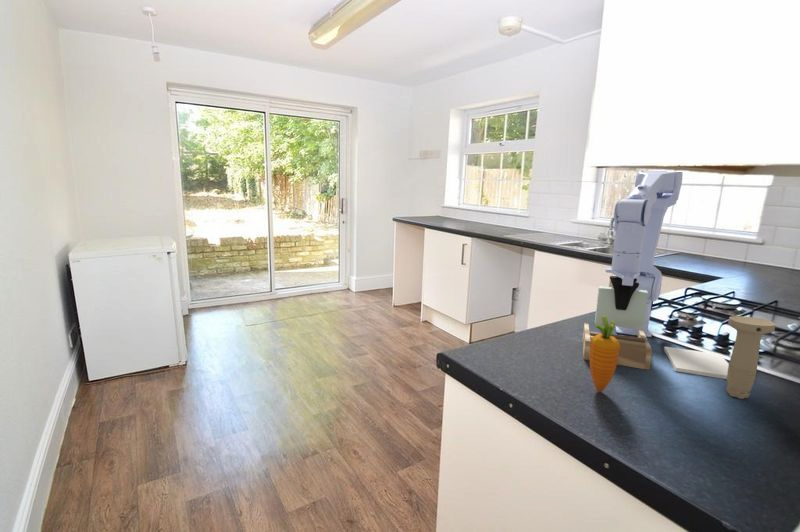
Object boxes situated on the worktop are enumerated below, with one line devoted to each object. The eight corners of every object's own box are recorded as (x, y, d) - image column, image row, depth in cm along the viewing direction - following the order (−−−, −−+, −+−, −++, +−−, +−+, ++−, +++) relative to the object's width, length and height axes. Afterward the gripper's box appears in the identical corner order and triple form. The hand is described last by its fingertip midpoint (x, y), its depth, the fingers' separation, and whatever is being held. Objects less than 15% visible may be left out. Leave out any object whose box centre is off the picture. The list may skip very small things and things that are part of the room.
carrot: (612, 401, 73) (622, 324, 70) (583, 394, 75) (591, 319, 72) (614, 389, 77) (623, 316, 74) (586, 382, 79) (594, 312, 76)
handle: (765, 404, 72) (781, 327, 68) (723, 399, 73) (738, 323, 70) (749, 391, 76) (764, 318, 73) (711, 386, 78) (724, 315, 75)
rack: (582, 339, 101) (584, 319, 100) (640, 347, 96) (643, 326, 95) (583, 359, 90) (585, 336, 89) (649, 369, 85) (653, 346, 84)
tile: (663, 349, 95) (664, 346, 95) (719, 357, 91) (720, 354, 91) (675, 371, 84) (675, 367, 84) (739, 381, 80) (740, 377, 80)
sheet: (594, 321, 97) (598, 285, 95) (641, 326, 93) (646, 290, 91) (595, 323, 95) (599, 288, 94) (642, 329, 92) (648, 292, 90)
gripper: (605, 245, 99) (600, 297, 102) (610, 255, 86) (603, 314, 89) (638, 247, 96) (631, 301, 99) (647, 258, 83) (639, 319, 86)
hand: (620, 307), depth 93 cm, fingers closed on sheet, 2 cm apart
